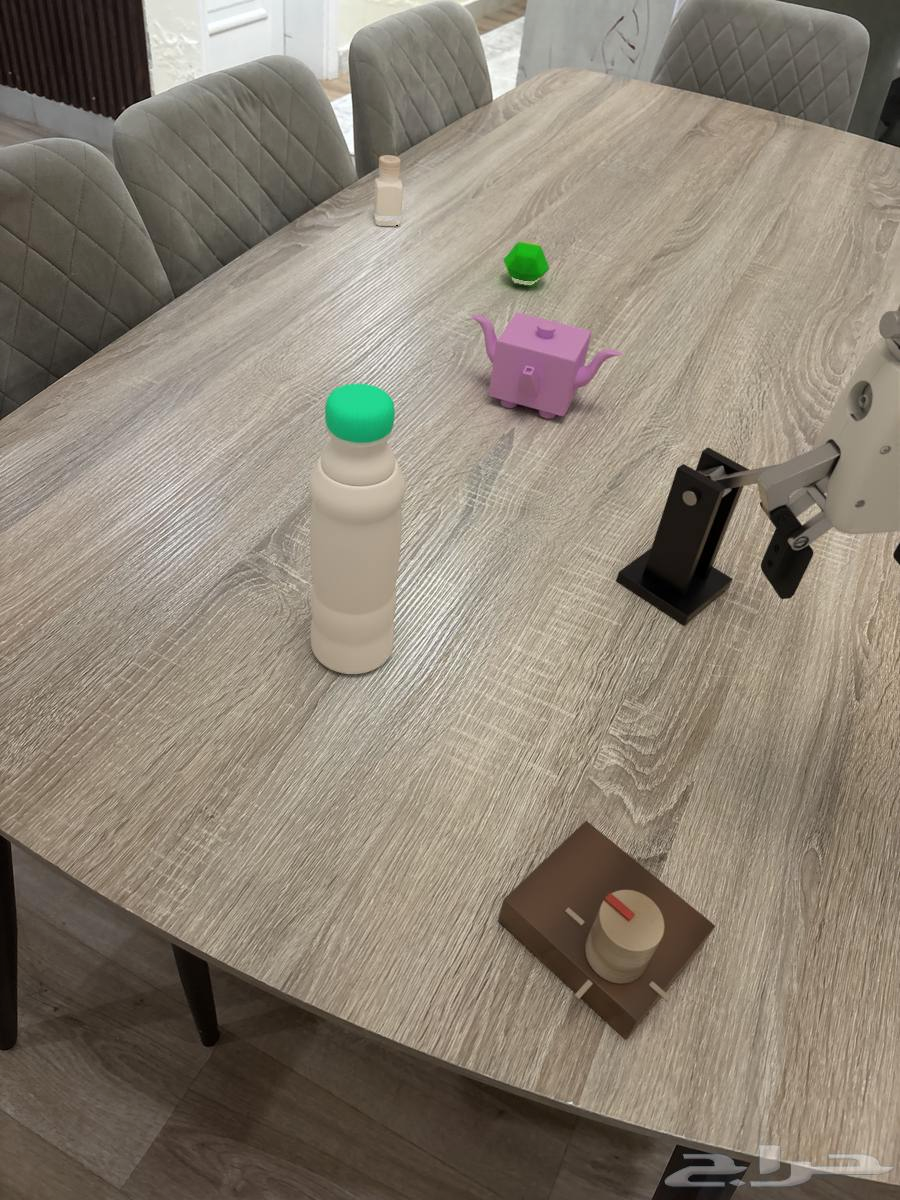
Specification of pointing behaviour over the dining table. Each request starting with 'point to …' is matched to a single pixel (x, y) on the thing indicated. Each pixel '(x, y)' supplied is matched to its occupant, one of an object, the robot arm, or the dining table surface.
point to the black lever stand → (687, 543)
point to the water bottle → (355, 532)
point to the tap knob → (624, 936)
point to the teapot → (539, 363)
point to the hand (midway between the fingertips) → (843, 577)
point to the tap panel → (568, 910)
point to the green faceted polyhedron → (526, 262)
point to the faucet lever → (733, 477)
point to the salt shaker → (388, 189)
